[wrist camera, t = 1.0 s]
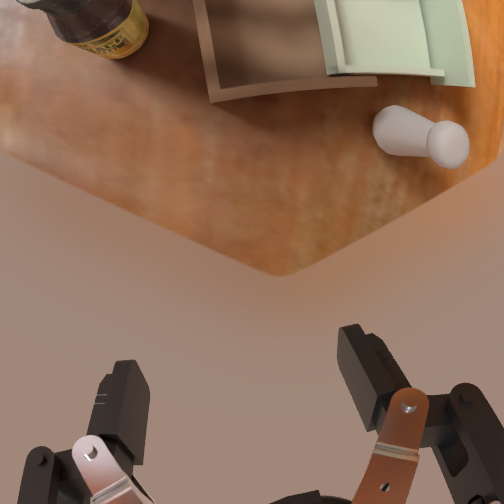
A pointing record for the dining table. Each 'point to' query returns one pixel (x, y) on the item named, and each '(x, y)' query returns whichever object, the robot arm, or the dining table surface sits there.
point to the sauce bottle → (97, 24)
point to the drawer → (397, 39)
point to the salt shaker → (420, 137)
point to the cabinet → (264, 49)
